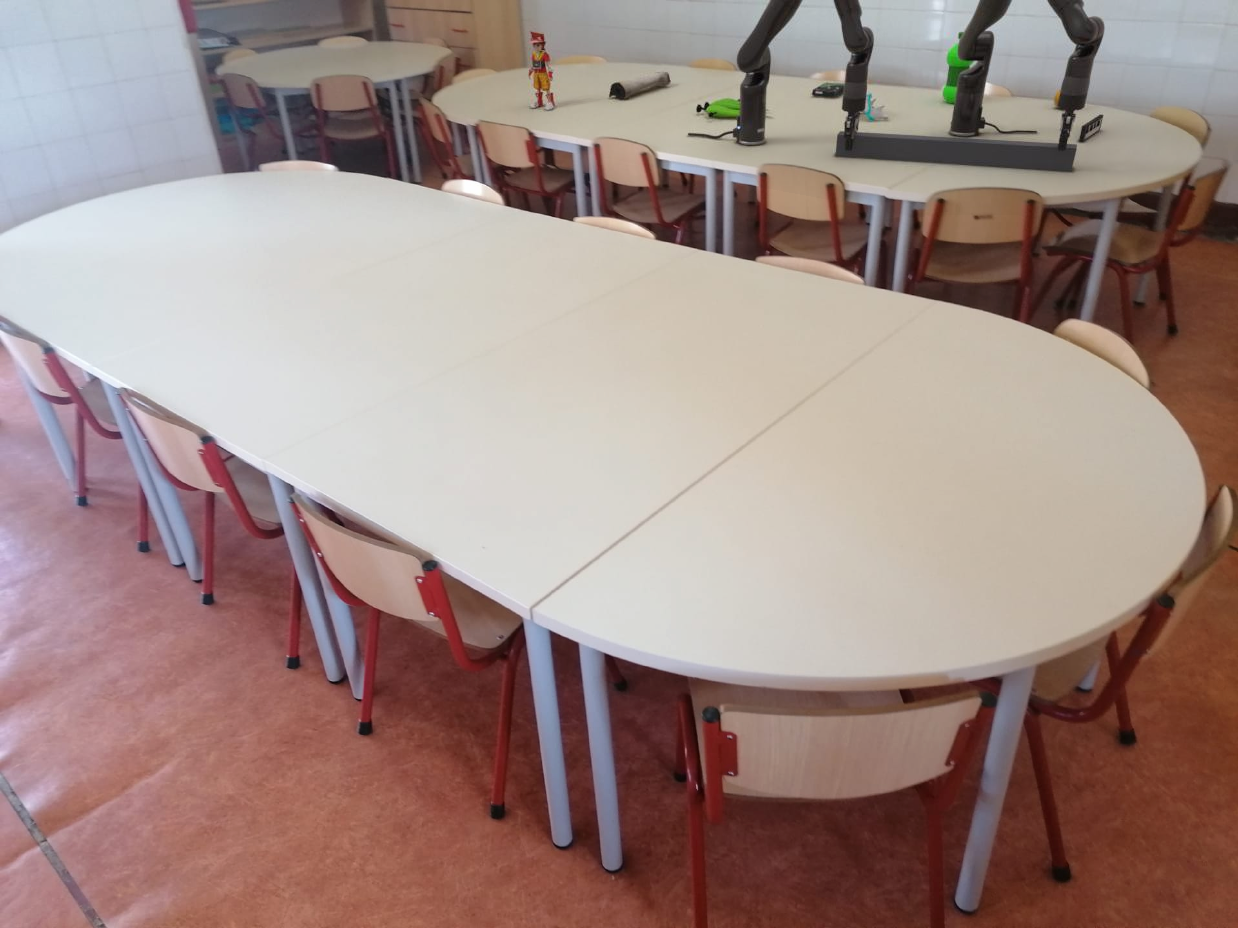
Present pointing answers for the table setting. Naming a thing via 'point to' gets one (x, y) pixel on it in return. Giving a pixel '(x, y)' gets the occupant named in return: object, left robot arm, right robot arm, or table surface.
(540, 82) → the toy
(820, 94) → the disk drive
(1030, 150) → the post
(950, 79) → the plastic bottle
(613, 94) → the rolled mat
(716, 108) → the toy
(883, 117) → the anatomical model
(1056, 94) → the fruit
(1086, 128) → the midi keyboard
